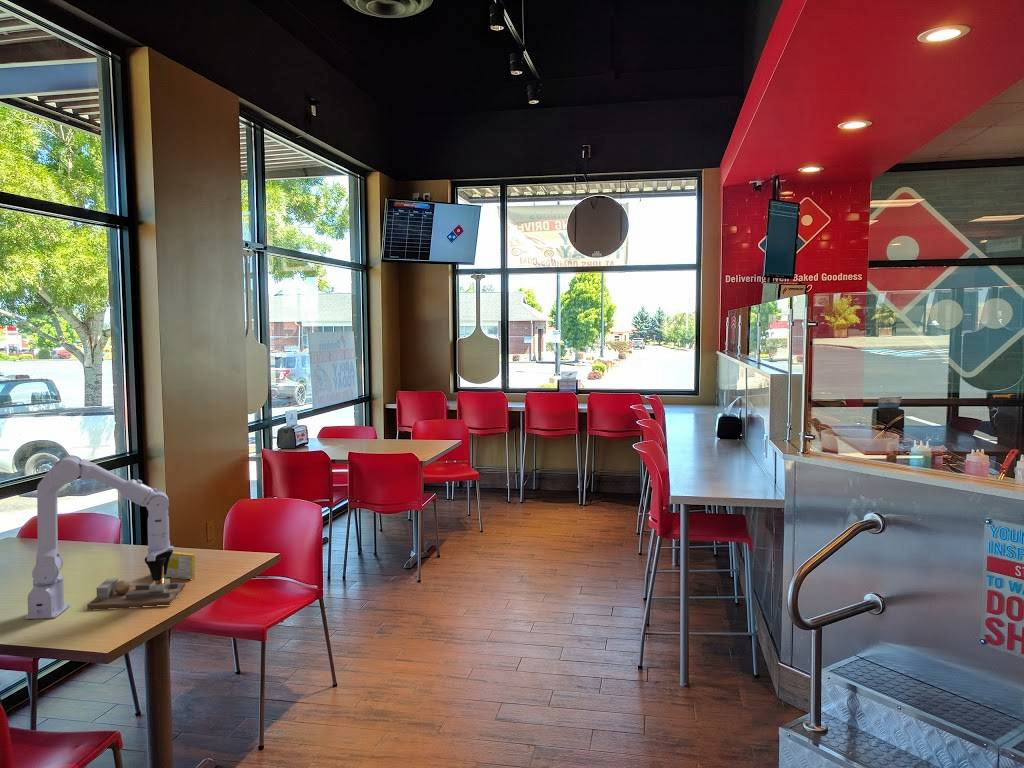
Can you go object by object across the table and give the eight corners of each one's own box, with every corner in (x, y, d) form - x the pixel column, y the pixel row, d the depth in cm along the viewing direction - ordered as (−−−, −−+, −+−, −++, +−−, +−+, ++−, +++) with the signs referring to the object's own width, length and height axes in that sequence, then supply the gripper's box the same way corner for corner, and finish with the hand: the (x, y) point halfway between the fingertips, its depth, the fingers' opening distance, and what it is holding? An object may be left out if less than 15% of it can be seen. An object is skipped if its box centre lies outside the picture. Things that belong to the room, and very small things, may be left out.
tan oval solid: (127, 596, 215) (126, 582, 214) (112, 596, 214) (112, 583, 214) (131, 591, 218) (131, 578, 218) (117, 591, 218) (117, 578, 218)
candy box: (196, 578, 235) (195, 553, 235) (191, 580, 233) (191, 555, 233) (154, 573, 240) (153, 549, 239) (149, 575, 237) (148, 550, 237)
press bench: (169, 606, 211) (168, 589, 210) (87, 610, 207) (86, 592, 207) (185, 587, 227) (185, 571, 226) (109, 590, 223) (109, 574, 223)
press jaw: (163, 594, 215) (163, 568, 215) (149, 595, 214) (148, 569, 214) (170, 587, 221) (169, 562, 220) (156, 588, 220) (155, 563, 220)
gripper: (165, 539, 210) (166, 585, 211) (180, 526, 224) (181, 569, 225) (138, 539, 209) (140, 586, 210) (155, 526, 223) (156, 570, 224)
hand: (159, 577), depth 217 cm, fingers open, 4 cm apart
